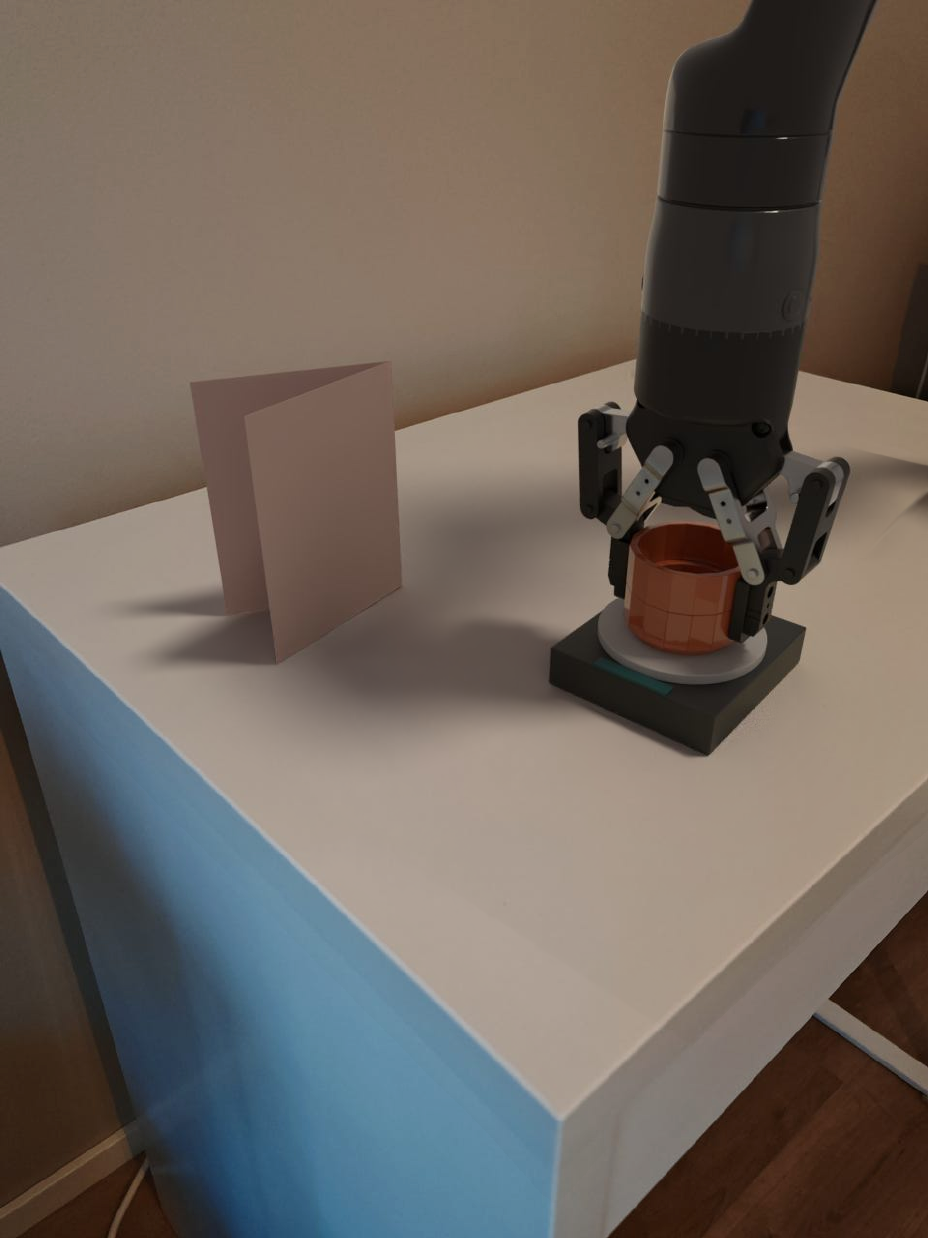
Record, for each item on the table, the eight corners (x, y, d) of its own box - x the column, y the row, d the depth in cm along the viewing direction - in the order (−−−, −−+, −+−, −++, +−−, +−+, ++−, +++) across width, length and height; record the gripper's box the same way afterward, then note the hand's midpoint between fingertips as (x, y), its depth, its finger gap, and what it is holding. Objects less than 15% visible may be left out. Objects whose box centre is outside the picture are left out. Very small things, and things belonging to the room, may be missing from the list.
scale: (649, 605, 61) (654, 564, 60) (800, 661, 56) (809, 617, 54) (548, 683, 54) (550, 638, 53) (708, 756, 49) (716, 708, 47)
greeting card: (398, 579, 65) (387, 356, 57) (431, 635, 59) (423, 395, 51) (225, 608, 61) (188, 377, 54) (241, 671, 56) (201, 421, 48)
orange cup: (660, 587, 57) (669, 510, 55) (761, 623, 54) (775, 543, 51) (601, 631, 53) (607, 551, 51) (705, 674, 50) (718, 589, 47)
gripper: (911, 312, 43) (837, 630, 52) (632, 268, 51) (609, 550, 59) (846, 350, 38) (776, 694, 47) (548, 295, 46) (537, 598, 55)
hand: (683, 612), depth 53 cm, fingers closed on orange cup, 6 cm apart
